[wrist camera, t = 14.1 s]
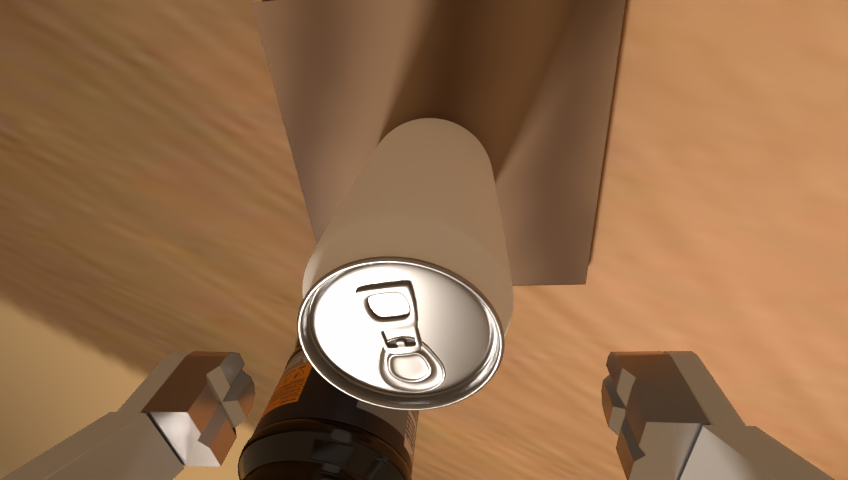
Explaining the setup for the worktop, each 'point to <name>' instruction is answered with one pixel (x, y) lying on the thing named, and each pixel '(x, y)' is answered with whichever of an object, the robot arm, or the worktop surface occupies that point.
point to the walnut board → (456, 103)
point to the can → (411, 275)
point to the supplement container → (326, 433)
